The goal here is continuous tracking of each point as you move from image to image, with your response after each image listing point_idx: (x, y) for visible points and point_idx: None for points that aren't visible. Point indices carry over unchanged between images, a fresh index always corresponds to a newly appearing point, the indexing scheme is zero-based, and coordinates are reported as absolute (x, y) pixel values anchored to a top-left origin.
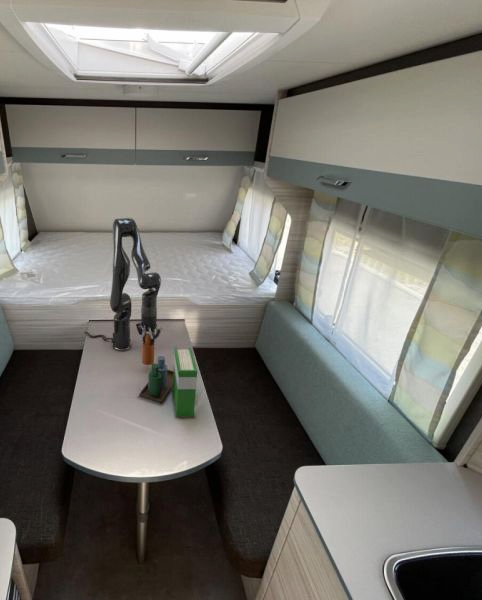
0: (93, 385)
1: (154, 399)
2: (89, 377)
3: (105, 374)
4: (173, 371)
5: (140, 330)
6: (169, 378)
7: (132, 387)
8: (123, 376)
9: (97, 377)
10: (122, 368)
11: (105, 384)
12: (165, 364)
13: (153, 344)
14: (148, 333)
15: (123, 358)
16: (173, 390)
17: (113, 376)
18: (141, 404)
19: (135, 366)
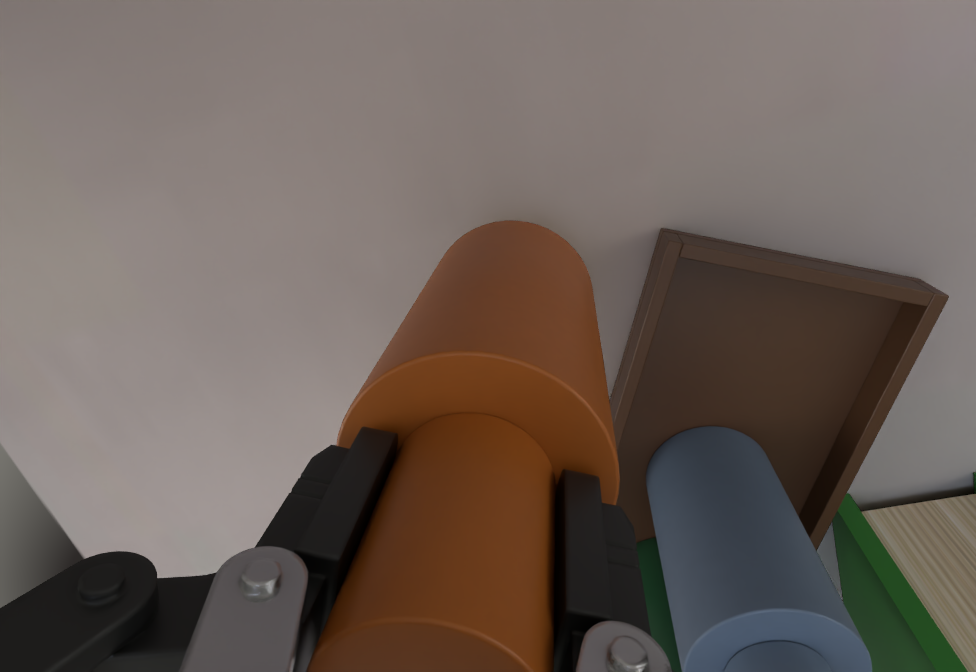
0: (162, 551)
1: None
2: (71, 477)
3: (159, 416)
4: (857, 281)
5: (8, 646)
6: (794, 359)
7: None
8: (320, 408)
9: (126, 465)
10: (249, 294)
11: (236, 527)
12: (841, 629)
13: (601, 494)
14: (381, 634)
15: (158, 100)
16: (858, 586)
17: (238, 426)
18: None
19: (360, 222)
